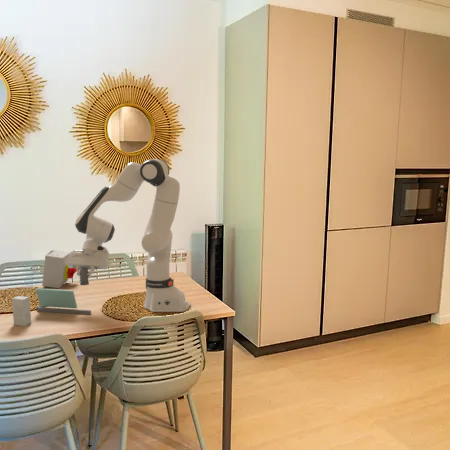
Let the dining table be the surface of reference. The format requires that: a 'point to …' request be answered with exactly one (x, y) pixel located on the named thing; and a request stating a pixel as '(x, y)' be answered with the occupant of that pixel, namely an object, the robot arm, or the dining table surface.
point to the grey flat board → (63, 310)
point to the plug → (83, 276)
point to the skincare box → (21, 310)
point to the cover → (56, 298)
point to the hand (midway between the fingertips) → (83, 275)
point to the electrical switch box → (56, 269)
